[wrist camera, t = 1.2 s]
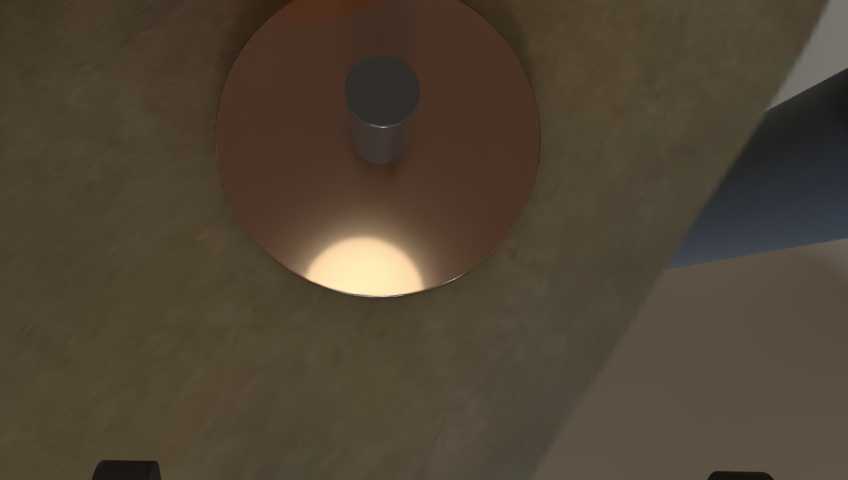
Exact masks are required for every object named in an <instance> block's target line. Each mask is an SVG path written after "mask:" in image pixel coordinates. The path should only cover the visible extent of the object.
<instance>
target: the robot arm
mask: <svg viewBox="0 0 848 480" xmlns="http://www.w3.org/2000/svg"><path fill="white" fill-rule="evenodd" d="M92 480H161V476H160V469H159V464H158V462H157V461H124V460H102V461H100V462H99V464H98V465H97V467H96V469H95V472H94V475H93V478H92ZM708 480H773V478H772V477H771V476H770V475H769V474H767V473H765V472H732V471H729V472H728V471H716V472H713V473H712V474H711V475H710V476H709V478H708Z"/></svg>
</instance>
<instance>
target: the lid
mask: <svg viewBox="0 0 848 480" xmlns="http://www.w3.org/2000/svg"><path fill="white" fill-rule="evenodd" d="M540 144H541V137H540V120H539V115H538V109H537V104H536V100H535V96H534V93H533V90H532V87H531V84H530V81H529V79H528V77H527V75H526V73H525V70H524V68H523V66H522V64H521V62H520V61H519V59H518V57H517V56H516V54H515V53H514V51H513V50H512V48H511V47H510V45H509V44H508V43H507V41H506V40H505V39H504V38H503V37H502V36H501V34H500V33H499V32H498V31H497V30H496V29H495V28H494V27H493V26H492V25H491V24H490V23H489V22H488V21H487V20H486V19H485V18H483V17H482V16H481V15H480V14H479V13H477V12H476V11H474V10H473V9H472V8H470V7H469V6H467V5H466V4H465V3H463V2H461V1H459V0H294V1H292V2H290V3H289V4H287V5H285V6H284V7H283V8H281V9H280V10H279V11H277V12H276V13H275V14H274V15H272V16H271V17H270V18H269V19H267V20H266V21H265V22H264V23H263V24H262V25H261V26H260V27H259V28H258V29H257V30H256V31H255V32H254V34H253V35H252V36H251V37H250V39H249V40H248V41H247V43H246V44H245V45H244V47H243V48H242V49H241V51H240V53H239V54H238V56H237V58H236V60H235V61H234V63H233V65H232V66H231V69H230V71H229V73H228V76H227V78H226V81H225V83H224V85H223V89H222V93H221V96H220V100H219V104H218V109H217V117H216V125H215V149H216V156H217V163H218V169H219V173H220V176H221V180H222V183H223V187H224V190H225V193H226V195H227V197H228V199H229V202H230V204H231V206H232V208H233V210H234V212H235V214H236V215H237V217H238V219H239V220H240V222H241V223H242V225H243V227H244V228H245V230H246V231H247V232H248V233H249V234H250V236H251V237H252V238H253V239H254V241H255V242H256V243H257V244H258V245H259V246H260V247H261V248H262V249H263V250H264V251H265V252H266V253H267V254H268V255H269V256H270V257H271V258H272V259H274V260H275V261H276V262H278V263H279V264H280V265H282V266H283V267H285V268H286V269H287V270H289V271H290V272H292V273H293V274H295V275H297V276H299V277H301V278H303V279H304V280H306V281H308V282H310V283H312V284H315V285H317V286H320V287H323V288H325V289H328V290H331V291H334V292H339V293H343V294H347V295H352V296H360V297H370V298H385V297H399V296H405V295H411V294H417V293H420V292H424V291H427V290H430V289H433V288H437V287H439V286H441V285H443V284H446V283H448V282H450V281H452V280H454V279H456V278H458V277H460V276H461V275H463V274H465V273H466V272H468V271H469V270H471V269H473V268H474V267H476V266H477V265H478V264H479V263H481V262H482V261H483V260H484V259H485V258H487V257H488V256H489V255H490V254H491V253H492V252H493V251H494V250H495V249H496V248H497V247H498V246H499V245H500V244H501V243H502V241H503V240H504V239H505V238H506V237H507V236H508V234H509V233H510V231H511V230H512V228H513V227H514V226H515V224H516V223H517V221H518V220H519V218H520V216H521V214H522V212H523V210H524V208H525V206H526V204H527V202H528V200H529V197H530V194H531V191H532V189H533V186H534V183H535V179H536V174H537V169H538V165H539V157H540Z"/></svg>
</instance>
